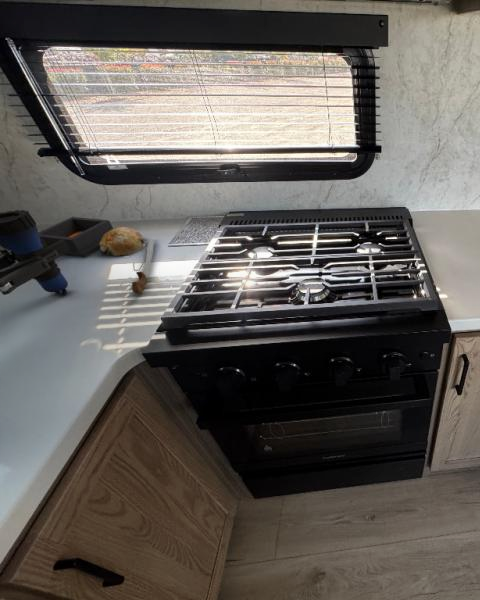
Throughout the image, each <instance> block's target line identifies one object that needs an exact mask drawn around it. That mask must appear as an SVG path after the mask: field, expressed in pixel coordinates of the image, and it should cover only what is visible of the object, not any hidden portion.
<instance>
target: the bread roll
mask: <svg viewBox="0 0 480 600" xmlns="http://www.w3.org/2000/svg"><path fill="white" fill-rule="evenodd" d="M99 244H100V247H101V248H100V252H101V253H102V254H106V255H107V256H114V257H120V256H126V255H130V254H131V255H132V254H133V253H136V252H138V251H140V250H141V249H142V248H145V247H146V244H145V241H144V237H143V235H142V234H141V233H140V232H139V231H138V230H136V229H133V228H131V227H126V226H120V227H115V228H113V229H112V230H110V231H109V232H107V233H106V234H105V235H104V236H103V237H102V240H101V242H100V243H99Z"/></svg>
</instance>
